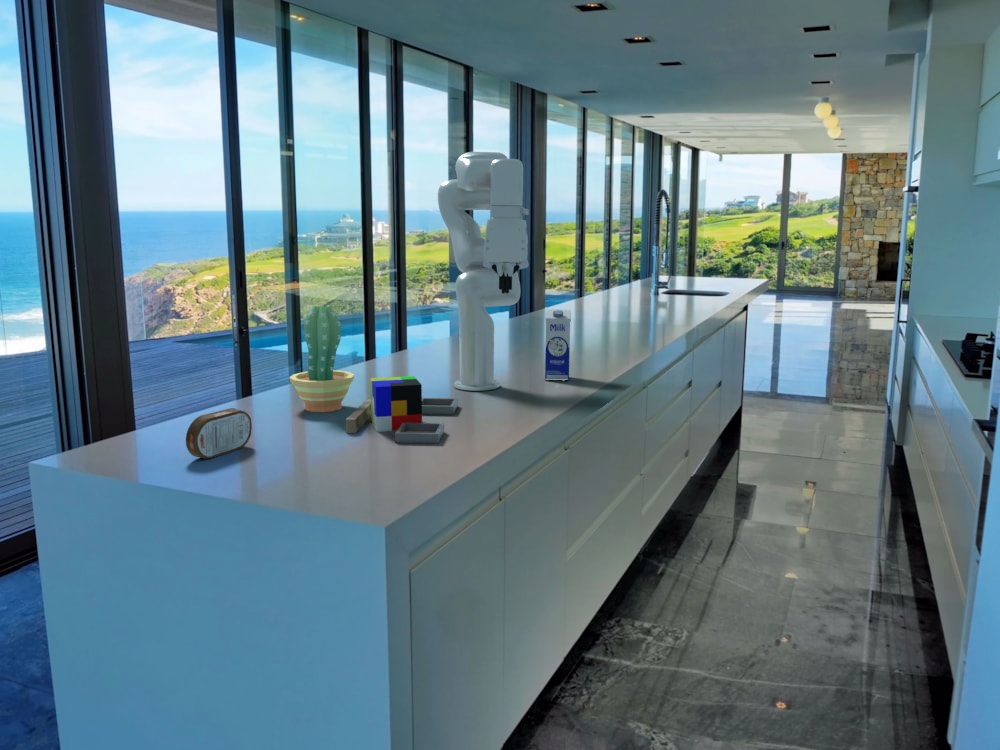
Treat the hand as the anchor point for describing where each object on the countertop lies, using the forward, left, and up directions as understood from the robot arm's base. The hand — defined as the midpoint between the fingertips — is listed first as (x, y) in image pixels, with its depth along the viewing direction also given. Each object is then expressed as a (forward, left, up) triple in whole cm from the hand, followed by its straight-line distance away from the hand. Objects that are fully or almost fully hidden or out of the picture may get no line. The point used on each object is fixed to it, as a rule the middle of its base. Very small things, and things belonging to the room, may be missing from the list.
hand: (505, 292), depth 193 cm
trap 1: (+28, -16, -28) cm, 43 cm away
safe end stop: (+15, -32, -28) cm, 45 cm away
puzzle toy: (+17, -23, -29) cm, 41 cm away
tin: (+42, -53, -29) cm, 74 cm away
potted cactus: (+2, -44, -29) cm, 53 cm away
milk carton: (-39, +13, -29) cm, 50 cm away
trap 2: (+3, -16, -28) cm, 33 cm away
